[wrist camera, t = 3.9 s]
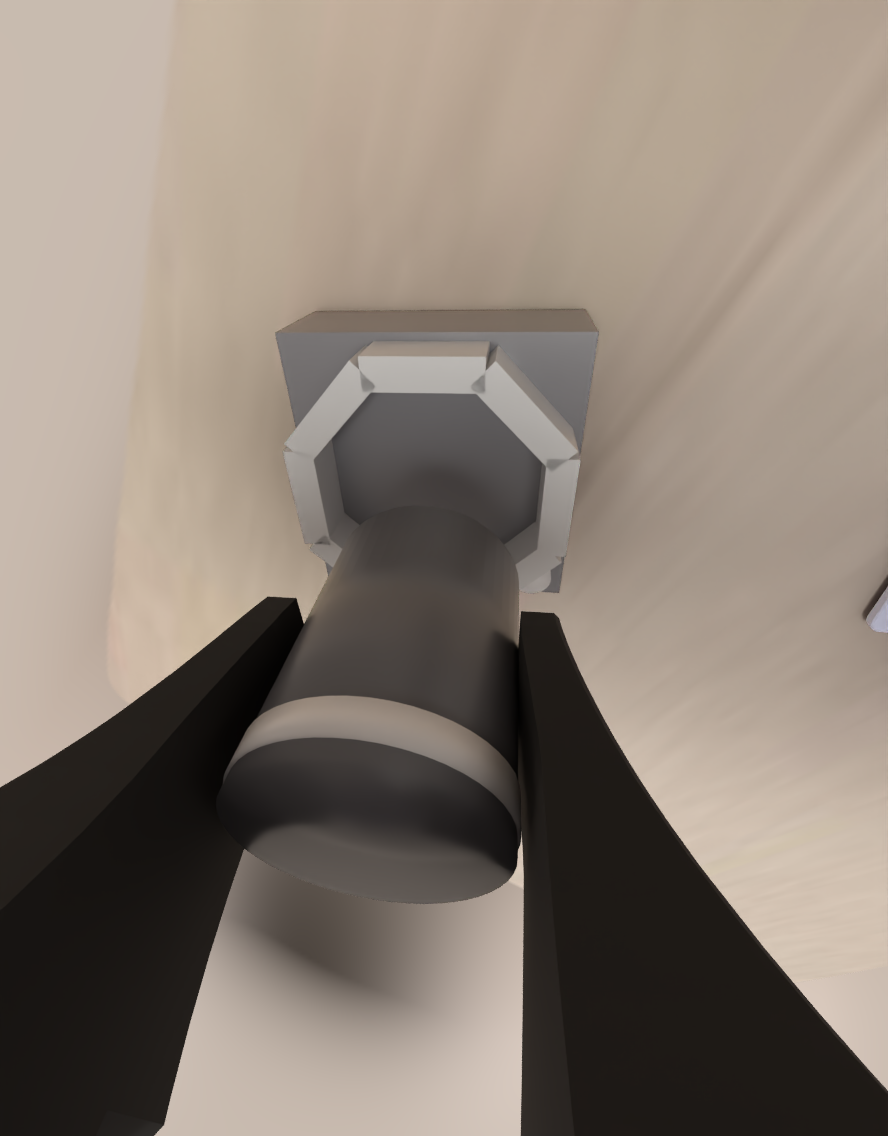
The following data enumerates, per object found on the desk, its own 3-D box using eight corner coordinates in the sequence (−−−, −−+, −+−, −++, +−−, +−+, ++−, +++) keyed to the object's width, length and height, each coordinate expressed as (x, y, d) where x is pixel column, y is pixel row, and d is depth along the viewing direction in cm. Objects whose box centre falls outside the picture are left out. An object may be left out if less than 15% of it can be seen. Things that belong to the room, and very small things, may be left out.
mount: (585, 309, 14) (608, 347, 10) (554, 542, 18) (562, 624, 15) (315, 311, 15) (248, 346, 11) (352, 533, 19) (314, 607, 16)
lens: (519, 499, 10) (518, 768, 5) (522, 649, 13) (523, 917, 8) (315, 506, 11) (156, 747, 6) (359, 647, 13) (272, 890, 9)
